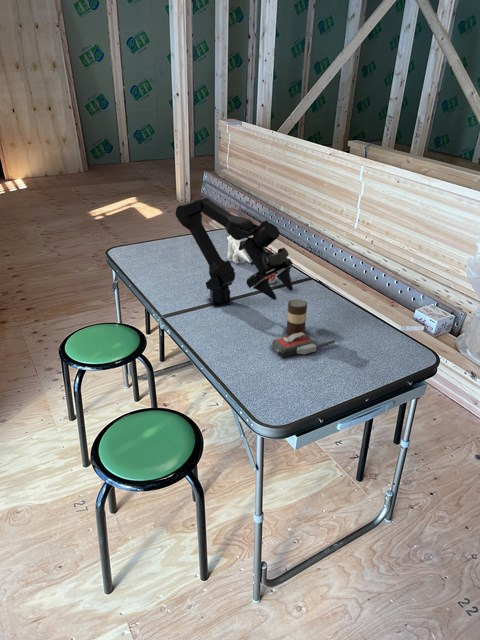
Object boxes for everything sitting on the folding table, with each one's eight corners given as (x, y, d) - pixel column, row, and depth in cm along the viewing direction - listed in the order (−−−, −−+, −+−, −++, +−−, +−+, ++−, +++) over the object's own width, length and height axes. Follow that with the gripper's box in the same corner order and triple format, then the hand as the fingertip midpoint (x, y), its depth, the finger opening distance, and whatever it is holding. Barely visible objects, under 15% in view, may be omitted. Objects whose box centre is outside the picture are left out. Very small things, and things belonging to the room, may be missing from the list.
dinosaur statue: (234, 252, 225) (234, 229, 220) (257, 271, 206) (258, 246, 201) (220, 254, 222) (220, 231, 217) (242, 273, 203) (243, 248, 198)
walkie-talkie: (282, 362, 145) (336, 346, 153) (283, 349, 143) (338, 334, 151) (267, 348, 152) (320, 334, 160) (268, 336, 150) (321, 322, 158)
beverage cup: (277, 278, 199) (279, 245, 192) (276, 284, 194) (278, 251, 187) (262, 277, 200) (263, 245, 193) (261, 283, 194) (262, 250, 188)
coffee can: (300, 338, 157) (302, 308, 152) (283, 333, 160) (285, 304, 155) (307, 330, 162) (310, 301, 157) (290, 325, 165) (293, 297, 160)
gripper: (254, 249, 147) (282, 293, 146) (290, 234, 160) (315, 274, 159) (234, 267, 155) (260, 308, 154) (269, 251, 168) (294, 289, 167)
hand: (283, 294), depth 159 cm, fingers open, 9 cm apart
